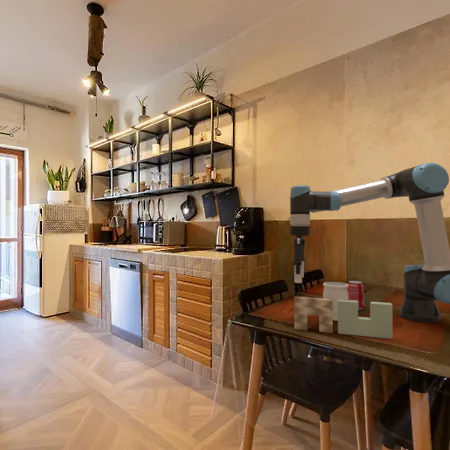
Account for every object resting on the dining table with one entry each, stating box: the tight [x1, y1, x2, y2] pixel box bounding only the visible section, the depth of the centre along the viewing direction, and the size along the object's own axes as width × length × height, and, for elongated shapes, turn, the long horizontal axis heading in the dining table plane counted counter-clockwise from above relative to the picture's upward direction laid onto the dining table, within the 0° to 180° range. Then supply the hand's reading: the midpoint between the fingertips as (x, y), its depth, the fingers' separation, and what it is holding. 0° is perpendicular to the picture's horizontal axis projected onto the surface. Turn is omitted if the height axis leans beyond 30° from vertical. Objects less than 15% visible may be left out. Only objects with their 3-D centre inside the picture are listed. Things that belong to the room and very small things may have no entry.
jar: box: [322, 281, 349, 322], centre depth 131 cm, size 11×10×15 cm
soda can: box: [347, 280, 365, 311], centre depth 146 cm, size 7×7×13 cm
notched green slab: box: [337, 299, 393, 340], centre depth 111 cm, size 18×3×12 cm, turn 72°
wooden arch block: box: [293, 296, 334, 334], centre depth 116 cm, size 14×3×12 cm, turn 72°
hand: (299, 279), depth 118 cm, fingers open, 13 cm apart
